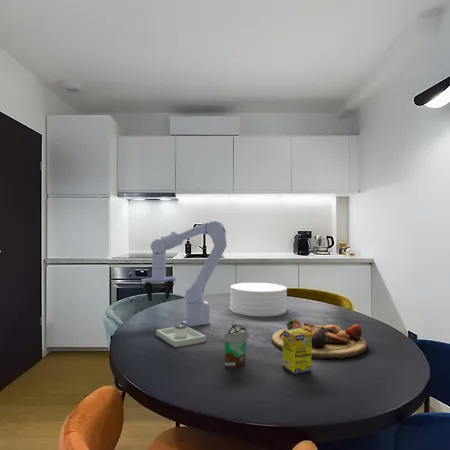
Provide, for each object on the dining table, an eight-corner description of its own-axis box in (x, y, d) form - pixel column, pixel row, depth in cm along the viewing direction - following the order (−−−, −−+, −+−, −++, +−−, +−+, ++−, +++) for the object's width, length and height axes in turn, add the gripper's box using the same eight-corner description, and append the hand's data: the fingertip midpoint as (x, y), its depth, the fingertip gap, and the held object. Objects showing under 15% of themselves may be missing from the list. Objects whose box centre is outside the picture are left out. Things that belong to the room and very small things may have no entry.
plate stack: (295, 308, 179) (295, 285, 179) (271, 319, 155) (272, 293, 155) (247, 301, 194) (247, 281, 194) (219, 311, 170) (219, 287, 170)
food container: (245, 372, 97) (246, 336, 97) (223, 370, 98) (224, 334, 98) (251, 356, 109) (251, 324, 109) (231, 355, 110) (232, 323, 110)
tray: (185, 330, 136) (185, 325, 136) (206, 341, 123) (206, 335, 123) (156, 335, 130) (156, 329, 130) (175, 347, 116) (175, 341, 116)
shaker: (180, 334, 130) (180, 323, 130) (189, 336, 127) (189, 325, 127) (171, 337, 126) (171, 326, 126) (181, 339, 123) (181, 328, 123)
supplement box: (294, 375, 95) (294, 335, 95) (282, 367, 100) (282, 329, 101) (312, 372, 97) (312, 333, 98) (299, 364, 103) (299, 327, 103)
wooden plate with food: (364, 336, 133) (364, 314, 133) (369, 365, 103) (369, 337, 103) (280, 329, 143) (280, 308, 144) (262, 354, 113) (262, 328, 113)
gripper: (170, 265, 156) (170, 296, 156) (139, 267, 148) (138, 299, 148) (177, 267, 150) (177, 299, 150) (145, 269, 142) (144, 302, 142)
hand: (158, 299), depth 148 cm, fingers open, 7 cm apart
